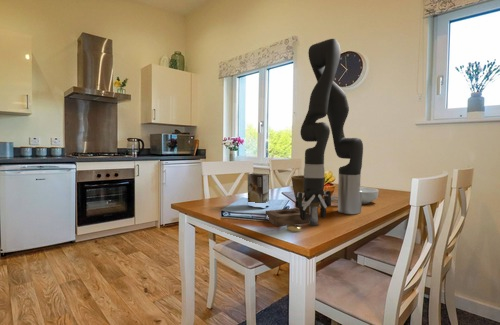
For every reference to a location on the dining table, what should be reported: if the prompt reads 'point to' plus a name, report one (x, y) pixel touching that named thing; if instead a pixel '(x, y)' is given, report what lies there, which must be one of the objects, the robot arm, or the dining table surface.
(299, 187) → the plant pot
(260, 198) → the coffee box
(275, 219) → the slot block
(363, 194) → the cereal bowl
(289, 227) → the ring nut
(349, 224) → the dining table surface
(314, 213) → the pin
